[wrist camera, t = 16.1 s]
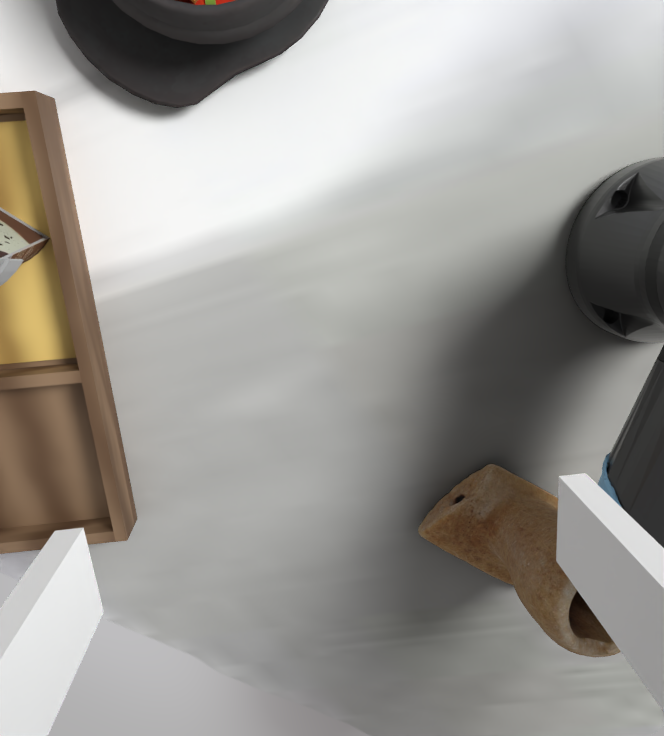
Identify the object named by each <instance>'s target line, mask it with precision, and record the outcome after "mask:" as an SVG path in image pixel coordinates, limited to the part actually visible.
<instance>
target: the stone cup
mask: <svg viewBox="0 0 664 736" xmlns="http://www.w3.org/2000/svg"><path fill="white" fill-rule="evenodd" d="M557 517H558V498H557V497H555V496H553V495H552V494H550V493H548V492H547V491H545V490H543V489H541V488H539V487H537V486H536V485H534V484H532V483H530V482H528V481H526V480H524V479H522V478H520V477H518V476H516V475H514V474H513V473H511V472H509V471H507V470H506V469H504V468H502V467H500V466H497V465H494V464H489V465H486V466H485V467H484V468H483V469H481V470H479V471H477V472H475V473H473V474H471V475H470V476H469V477H468V478H466V479H464V480H463V481H462V482H461V483H460V484H458V485H456V486H455V487H454V488H453V489H452V490H451V491H450V493H448V494H446V495H445V496H444V497H443V498H442V499H441V500H440V501H438V502H437V504H436V505H435V506H434V508H433V509H432V510H431V511H429V513H428V514H427V516H426V517H425V519H424V520H423V522H422V523H421V524H420V526H419V528H418V533H419V534H420V536H422V537H423V538H425V539H426V540H428V541H429V542H431V543H433V544H434V545H436V546H438V547H439V548H441V549H443V550H444V551H446V552H448V553H450V554H452V555H454V556H456V557H457V558H459V559H461V560H464V561H466V562H467V563H469V564H470V565H472V566H474V567H476V568H478V569H480V570H482V571H483V572H485V573H487V574H489V575H491V576H493V577H495V578H498V579H500V580H502V581H504V582H506V583H509V584H511V585H514V588H515V590H516V592H517V594H518V596H519V598H520V600H521V602H522V603H523V605H524V606H525V608H526V609H527V611H528V612H529V613H530V615H531V616H532V617H533V618H534V619H535V621H536V622H537V623H538V624H539V625H540V627H541V628H542V629H543V630H544V632H545V633H546V634H547V635H548V636H549V637H550V638H551V639H552V640H554V641H555V642H556V643H557V644H558V645H560V646H562V647H563V648H565V649H567V650H569V651H571V652H574V653H576V654H579V655H584V656H590V657H605V656H611V655H615V654H617V653H619V652H621V651H620V650H619V648H618V647H617V646H616V644H615V643H614V641H613V640H612V639H611V637H610V636H609V634H608V633H607V632H606V630H605V629H604V627H603V626H602V625H601V623H600V622H599V620H598V619H597V617H596V616H595V615H594V613H593V612H592V610H591V609H590V608H589V606H588V605H587V603H586V602H585V601H584V599H583V598H582V596H581V595H580V594H579V592H578V591H577V589H576V588H575V587H574V585H573V584H572V582H571V581H570V580H569V578H568V577H567V575H566V574H565V573H564V571H563V570H562V568H561V567H560V566H559V564H558V563H557V561H556V549H557Z"/></svg>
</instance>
